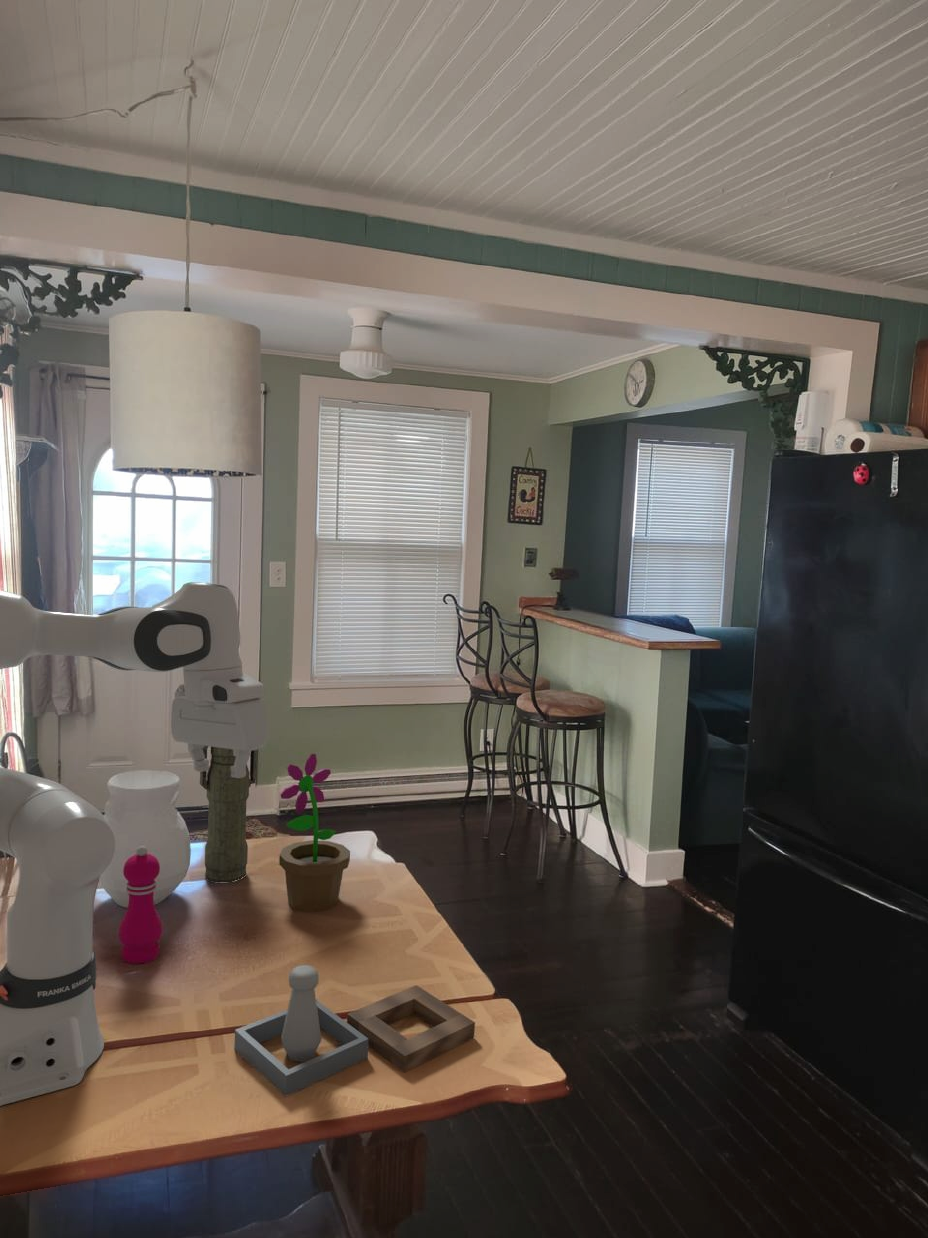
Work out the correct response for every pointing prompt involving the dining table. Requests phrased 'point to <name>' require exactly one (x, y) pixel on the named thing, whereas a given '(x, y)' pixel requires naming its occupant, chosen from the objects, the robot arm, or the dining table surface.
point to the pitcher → (146, 830)
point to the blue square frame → (307, 1071)
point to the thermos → (226, 815)
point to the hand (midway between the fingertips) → (219, 774)
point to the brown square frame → (421, 1047)
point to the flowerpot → (311, 848)
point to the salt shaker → (302, 1015)
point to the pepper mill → (140, 909)
